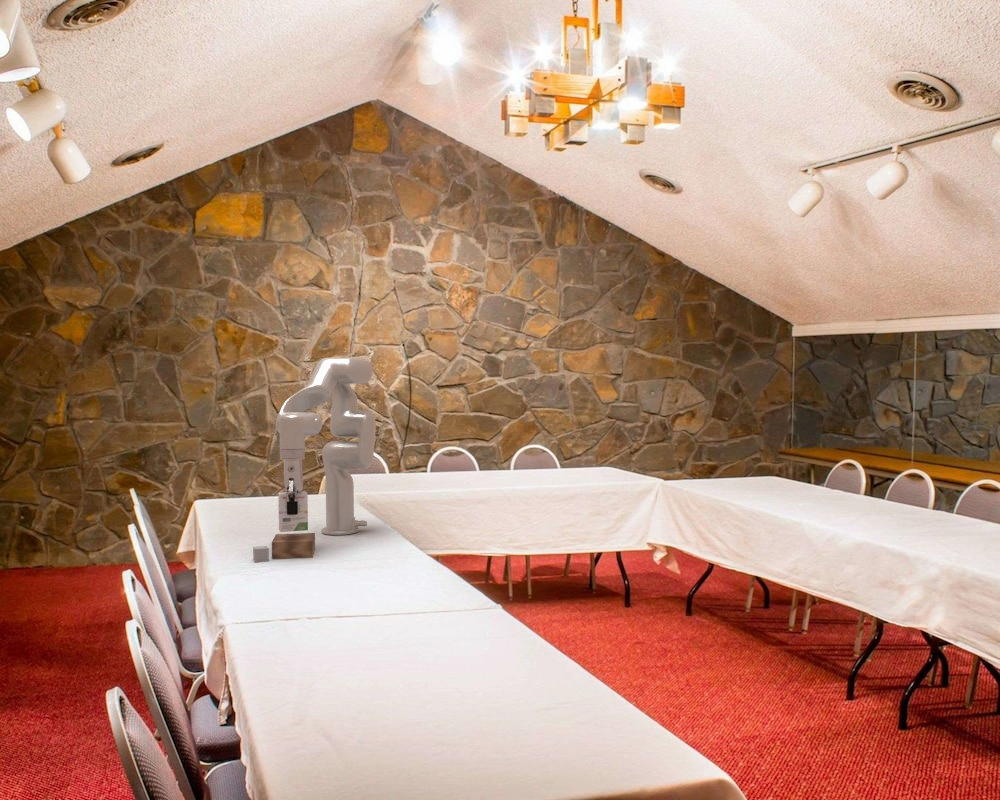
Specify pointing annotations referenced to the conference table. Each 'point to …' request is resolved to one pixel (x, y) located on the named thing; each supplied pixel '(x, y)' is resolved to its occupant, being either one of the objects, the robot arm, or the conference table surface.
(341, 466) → the robot arm
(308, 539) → the walnut base block
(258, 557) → the slate cube
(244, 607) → the conference table surface
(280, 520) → the ink box
